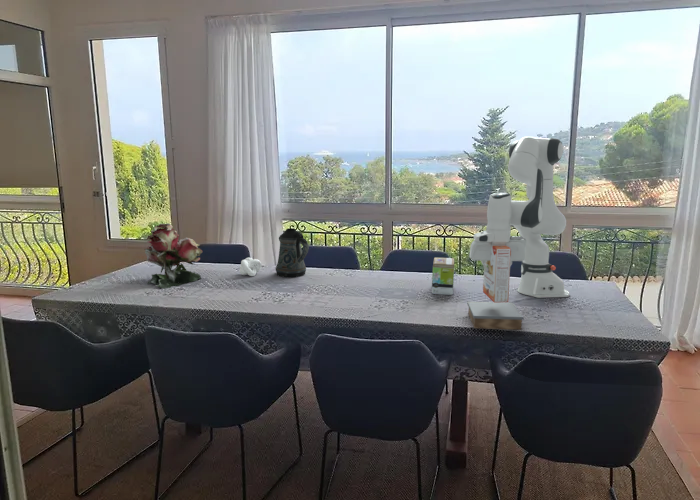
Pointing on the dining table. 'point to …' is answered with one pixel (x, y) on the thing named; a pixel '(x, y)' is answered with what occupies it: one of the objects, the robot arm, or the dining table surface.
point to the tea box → (443, 276)
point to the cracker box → (498, 274)
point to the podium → (495, 315)
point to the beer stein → (291, 254)
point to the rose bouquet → (171, 256)
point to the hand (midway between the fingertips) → (496, 271)
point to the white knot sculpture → (250, 266)
